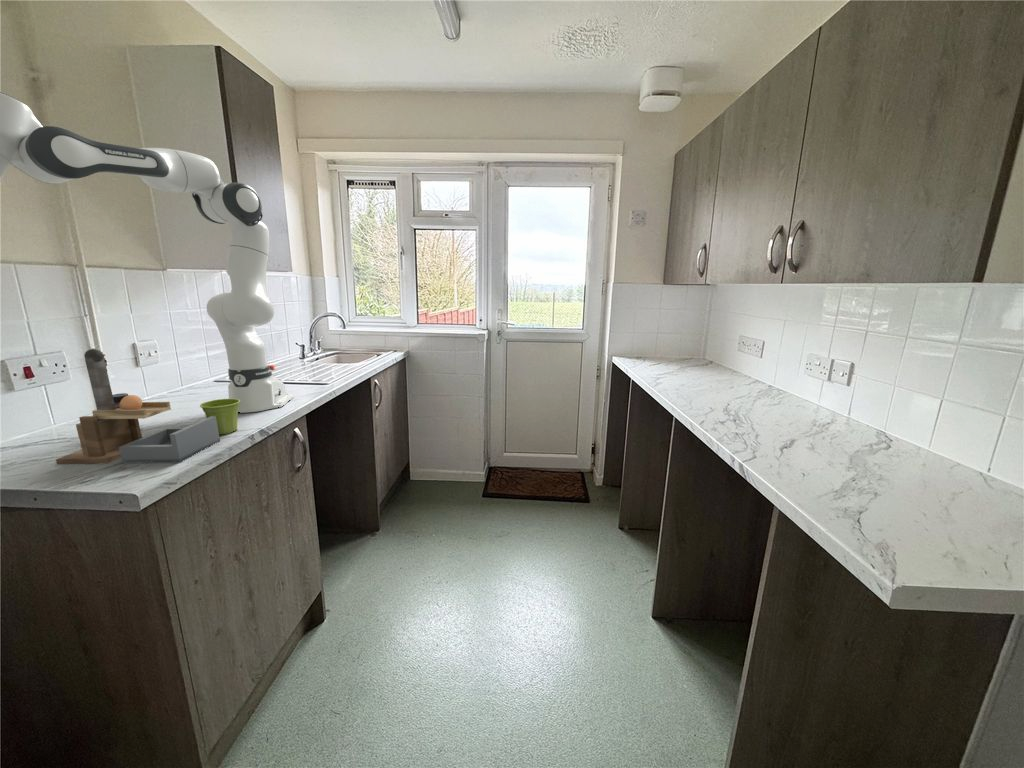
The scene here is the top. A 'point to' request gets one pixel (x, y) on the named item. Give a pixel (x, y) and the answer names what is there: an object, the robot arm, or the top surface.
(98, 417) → the launcher
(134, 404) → the ball
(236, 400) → the plant pot
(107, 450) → the lever stand
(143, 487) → the top surface
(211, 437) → the bin
